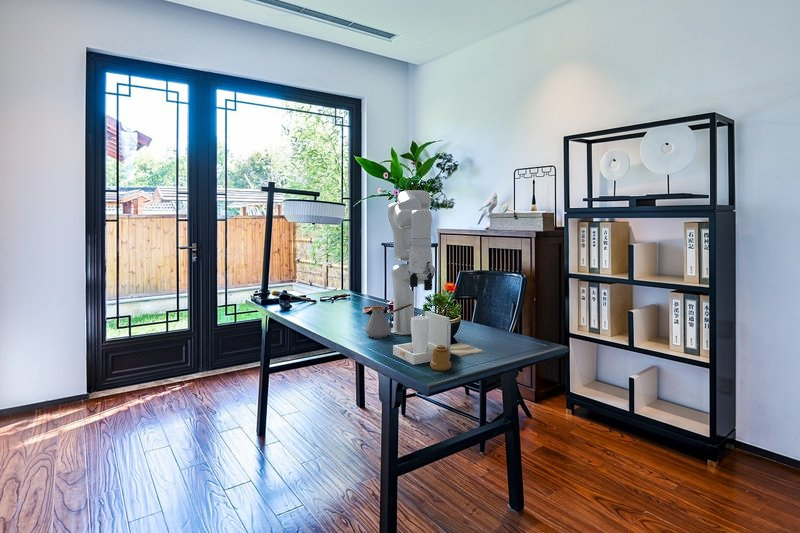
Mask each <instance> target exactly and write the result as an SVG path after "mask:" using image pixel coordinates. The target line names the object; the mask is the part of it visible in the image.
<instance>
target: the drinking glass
mask: <svg viewBox="0 0 800 533" xmlns="http://www.w3.org/2000/svg"><path fill="white" fill-rule="evenodd" d="M428 333H429V318H428V317H425V315H424V316H423V315H417V316H415V315H414V317H412V318H411V334H410V335H411V343H412V346H413V352H412V353H413V354H418V353H424V352H428V351H427V343H428Z"/></svg>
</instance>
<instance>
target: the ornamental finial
mask: <svg viewBox="0 0 800 533" xmlns="http://www.w3.org/2000/svg"><path fill="white" fill-rule="evenodd" d="M429 366H430V367H431V369H432V370H434V371H440V372H441V371H442V372H444V371H449V370H450V369H451V368H452V362H451V361H450V359H449V350H448V349H447V348H446V347H445V346H444V345H438V346H437V347H435V348H434V349H433V357H432V361H431V362H430V363H429Z"/></svg>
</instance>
